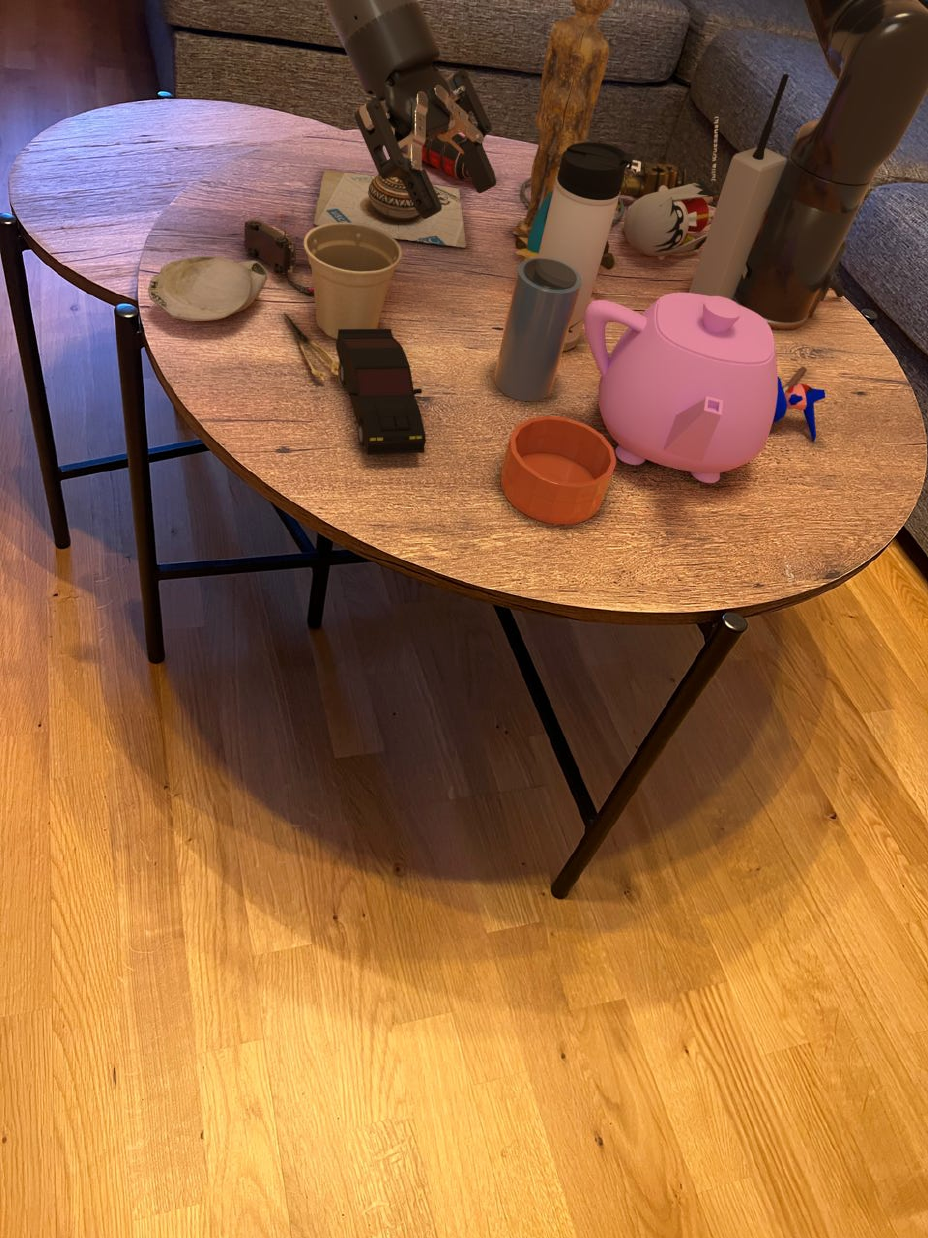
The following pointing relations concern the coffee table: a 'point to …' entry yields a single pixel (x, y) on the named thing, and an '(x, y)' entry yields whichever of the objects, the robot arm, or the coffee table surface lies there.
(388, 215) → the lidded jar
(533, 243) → the toy
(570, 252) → the travel mug
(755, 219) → the vintage mobile phone
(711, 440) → the teapot
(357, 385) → the toy car
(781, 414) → the figurine
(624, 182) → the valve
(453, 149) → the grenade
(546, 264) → the grey metal cylinder
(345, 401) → the coffee table surface
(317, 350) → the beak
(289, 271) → the toy car
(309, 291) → the necklace
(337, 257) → the flower pot
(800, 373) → the pen
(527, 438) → the orange round bowl
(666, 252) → the toy
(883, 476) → the coffee table surface
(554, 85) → the sculpture
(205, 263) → the seashell
